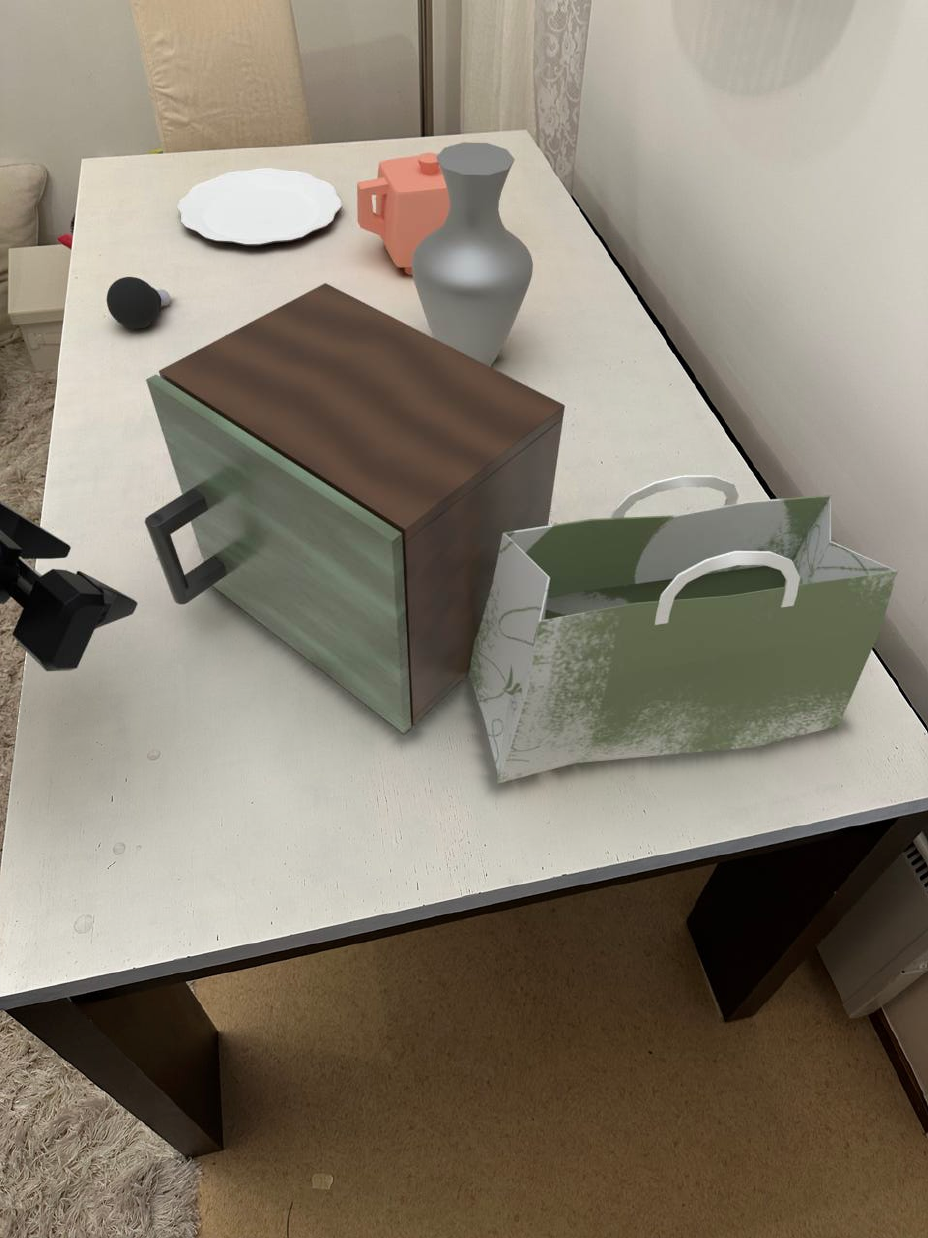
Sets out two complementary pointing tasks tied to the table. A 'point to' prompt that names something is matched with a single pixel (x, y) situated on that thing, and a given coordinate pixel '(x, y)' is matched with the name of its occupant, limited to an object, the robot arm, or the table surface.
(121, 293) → the light bulb
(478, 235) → the vase
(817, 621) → the grocery bag
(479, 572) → the wooden cabinet
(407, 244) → the teapot
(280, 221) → the plate
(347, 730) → the table surface
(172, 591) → the green cabinet door
